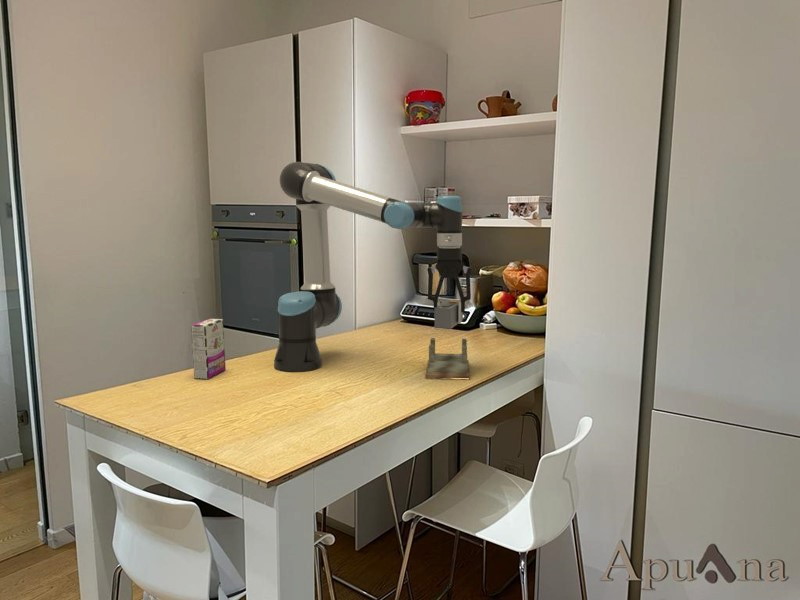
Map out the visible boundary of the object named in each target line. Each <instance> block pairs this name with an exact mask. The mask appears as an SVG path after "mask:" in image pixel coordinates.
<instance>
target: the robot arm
mask: <svg viewBox="0 0 800 600" xmlns="http://www.w3.org/2000/svg"><path fill="white" fill-rule="evenodd" d="M279 185H280V188H281V190H282V192H283V193H284V194H285V195H286V196H287V197H289V198H291V199H294V200H295V206H296V208H297V209H299V211H300V215H301V234H302V253H303V254H302V256H303V275H304V284H303V285H302V286H301V287H300V291H293V292H288V293H285V294H283V295H281V296H280V297H279V299H278V300H277V301H278V304H277V305H278V306H277V312H278V313H277V314H278V317H277V318H278V345H277V350H276V352H275V357H274V360H273V366H274V369H275V370H278V371H282V372H308V371H309V372H310V371H313V370H317V369H319V368H321V367H322V366H323V365H322V364H323V363H322V361H323V359H322V355H321V352H320V349H319V347H318V344H317V329H320V328H323V327H324V328H325V327H327V326H329V325H331V324H333V323H334V322H336V321H337V320H338V319H339V318H340V316H341V313H342V309H343V303H342V299H341V297H340V296H338V294H337V293H336V285H335V284H334V283H332V281H331V265H330V264H331V262H330V248H329V247H330V245H329V227H328V226H329V224H328V223H329V222H328V209H329V208H330V207H334V208H337V209H340V210H343V211H346V212H350V213H351V214H352V213H353V214H356V215H359V216H361V217H362V216H363V217H365V218H369V219H371V220H374V221H378V222H380V223H384V224H386V225H388V227H389V228H390V227H391V228H392V229H397V230H404V229H416V228H419V229H420V228H423V229H424V228H425V229H426V228H432V229H433V228H434V229H435V228H436V245H437V249H436V263H435V265H433V266H428V267H427V270H426V271H427V273H428V288H427V299H428V300H429V301H432V302H433V309H434V308H436V307H438V306H439V305H441V300H439V297H440V293H441V290H442V286H443V284H444V280H445V279H448V278H450V279H454V282H455V286H456V288H457V289H456V290H457V292H458V296H459V299H460V300H458V302H459V322H458V324H462V321H461V312H463V313H465V311H466V302H467V301H470V300H471V299H472V295H471V294H472V293H471V272H472V267H471V266H466V265H464V264H463V248H462V247H461V246H463V203H462V201H463V200H462V197H461V196H459V195H440V196H437V198H436V202H405V201H401V200H398V199H395V198H391V197H388V196H385V195H382V194H379V193H376V192H372V191H369V190H366V189H363V188H360V187H356V186H353V185H349V184H346V183H343V182H340V181H338V180H336V177H335V175H334V173H333V172H332V171H331V169H329V168H328V167H326V166H325V165H322V164H318V163H310V162H302V161H294V162H290V163H288V164H287V165H285V167H284V168H282V170H281V172H280V175H279ZM462 270H463V272H464V273H463V274H465V288H466V295H465V294H464V292H463V288H462V285H461V281H460V278H459V274H460V273H461V272H462ZM436 271H437V272H438V273H439V275H440V278H439V281H438V284H437V286H436V287H437V288H436V290H435V294H434V295H433V286H434V285H433V284H434V283H433V282H434V274H435V272H436Z"/></svg>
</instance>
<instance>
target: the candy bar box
mask: <svg viewBox="0 0 800 600" xmlns="http://www.w3.org/2000/svg"><path fill="white" fill-rule="evenodd" d="M190 329H191V343H192V345H191V346H192V347H191V348H192V360H193V378H194V379H195V378H198V379H197V380H210V379H212V378H214V377H215V375H216V376H218V375H220V374H221V373H223V372H225V371H226V370H227V369H226V354H225V353H226V351H225V335H224V334H225V333H224V319H223V318H221V319H220V318H209V319H205V320H203V321H200V322H197V323H194V324H191V325H190ZM217 374H218V375H217ZM213 376H214V377H213ZM199 378H200V379H199Z"/></svg>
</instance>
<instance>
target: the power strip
mask: <svg viewBox="0 0 800 600" xmlns="http://www.w3.org/2000/svg"><path fill="white" fill-rule="evenodd" d="M433 312H434V318H433V319H434V321H433V322H434V326H433V327H434V329H445V330H449V329H450V330H452V329H453V328H454V327H456V326H457V325H458V324H459V323H458V322H459V300H458V299H457V300H454V299H451V300H448V301H445V302H444V303H440V305H439V306H438V307H436V308H434V307H433ZM463 316H464V312H461V322H462V321H463V319H464V318H463Z"/></svg>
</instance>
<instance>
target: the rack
mask: <svg viewBox="0 0 800 600" xmlns="http://www.w3.org/2000/svg"><path fill="white" fill-rule="evenodd" d="M467 340H468V339H467V338H462V339H461V353H440V352H439V353H437V352H436V337H430V341H429V342H430V343H429V345H428V360H427V365H426V370H425V376H424V379H425V378H469V379H470V365H469V359H468V345H467V343H468V341H467Z"/></svg>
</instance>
